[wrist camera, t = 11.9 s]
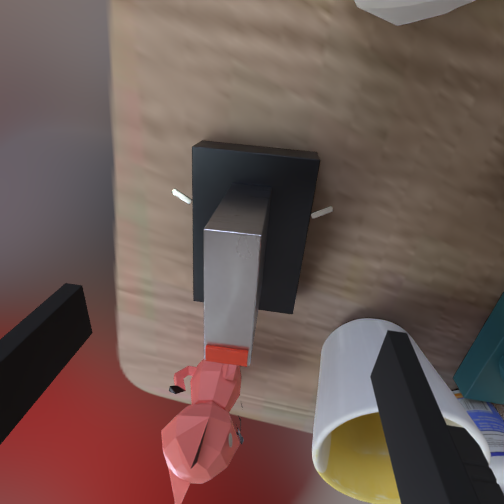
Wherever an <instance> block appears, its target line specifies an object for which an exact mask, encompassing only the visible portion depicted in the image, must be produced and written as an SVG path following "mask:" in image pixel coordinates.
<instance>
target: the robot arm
mask: <svg viewBox="0 0 504 504" xmlns="http://www.w3.org/2000/svg"><path fill="white" fill-rule="evenodd" d="M91 334H92V329H91V324H90V320H89V315H88V311H87V306H86V301H85V297H84V292H83V288H82V286H81V285H75V284H67V283H66V284H64V285H63V286H62V287H61V288H60V289H59V290H57V291H56V292H55V293H54V294H53V295H51V296H50V297H49V298H48V299H47V300H46V301H44V302H43V303H42V304H41V305H40V306H39V307H38V308H36V309H35V310H34V311H33V312H32V313H31V314H29V315H28V316H27V317H26V318H25V319H23V320H22V321H21V322H20V323H19V324H18V325H17V326H15V327H14V328H13V329H12V330H11V331H10V332H8V333H7V334H6V335H5V336H4V337H3V338H1V339H0V444H1V443H2V442H3V441H4V440H5V438H6V437H7V436H8V435H9V434H10V432H11V431H12V430H13V429H14V427H15V426H16V425H17V424H18V423H19V421H20V420H21V419H22V418H23V416H24V415H25V414H26V413H27V412H28V410H29V409H30V408H31V407H32V406H33V404H34V403H35V402H36V401H37V400H38V398H39V397H40V396H41V395H42V393H43V392H44V391H45V390H46V389H47V387H48V386H49V385H50V384H51V382H52V381H53V380H54V379H55V378H56V376H57V375H58V374H59V373H60V371H61V370H62V369H63V368H64V367H65V365H66V364H67V363H68V362H69V361H70V359H71V358H72V357H73V356H74V355H75V353H76V352H77V351H78V350H79V348H80V347H81V346H82V345H83V344H84V342H85V341H86V340H87V339H88V338H89V336H90V335H91ZM370 378H371V382H372V386H373V390H374V394H375V398H376V402H377V407H378V411H379V415H380V419H381V423H382V427H383V431H384V435H385V439H386V444H387V448H388V452H389V456H390V460H391V464H392V468H393V472H394V476H395V480H396V485H397V489H398V493H399V497H400V501H401V504H504V493H503V491H502V489H501V487H500V485H499V484H497V482H496V481H497V479H496V477H495V475H494V473H493V471H492V469H491V468H489V463H488V461H487V459H486V457H485V455H484V453H483V451H482V449H481V447H480V445H479V444H478V443H477V442H476V441H475V439H474V438H473V437H472V436H471V435H470V434H469V432H468V431H467V430H466V429H465V428H462V427H456V426H450V425H447V424H446V422H445V420H444V418H443V415H442V413H441V411H440V408H439V406H438V404H437V401H436V399H435V397H434V394H433V392H432V390H431V387H430V385H429V383H428V381H427V378H426V376H425V374H424V371H423V369H422V367H421V364H420V362H419V360H418V357H417V355H416V353H415V350H414V348H413V346H412V344H411V341H410V339H409V337H408V334H407V333H404V332H397V331H390V330H387V333H386V336H385V338H384V341H383V344H382V346H381V349H380V352H379V354H378V357H377V360H376V362H375V365H374V368H373V370H372V373H371V376H370Z"/></svg>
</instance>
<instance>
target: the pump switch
mask: <svg viewBox="0 0 504 504" xmlns="http://www.w3.org/2000/svg"><path fill="white" fill-rule="evenodd" d="M453 379H454V381H455V383H456V384H457V386H458V388H459V390H460V392H461V394H462V395H463V397H464V398H466V399H472V400H478V401H485V402H491V403H497V404H503V405H504V292H503V294H502V296H501V297H500V299H499V301H498V302H497V304H496V306H495V308H494V309H493V311H492V313H491V314H490V316H489V318H488V319H487V321H486V323H485V324H484V326H483V328H482V329H481V331H480V333H479V335H478V336H477V338H476V340H475V341H474V343H473V345H472V346H471V348H470V350H469V351H468V353H467V355H466V357H465V358H464V360H463V362H462V363H461V365H460V367H459V368H458V370H457V372H456V373H455V375H454V377H453Z"/></svg>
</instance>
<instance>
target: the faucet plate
mask: <svg viewBox="0 0 504 504" xmlns="http://www.w3.org/2000/svg"><path fill="white" fill-rule="evenodd" d="M319 164H320V159H319V156H318V153H317V152H310V151H300V150H290V149H280V148H271V147H261V146H251V145H242V144H232V143H222V142H212V141H201V142H199V143H197V144H196V145H194V146H192V195H193V297H194V301H199V302H204V228H205V226H206V225H207V223H208V222H209V220H210V218H211V217H212V215H213V214H214V212H215V210H216V209H217V207H218V205H219V204H220V202H221V201H222V199H223V197H224V196H225V194H226V193H227V191H228V189H229V188H230V186H231V185H232V183H235V184H245V185H255V186H265V187H272V191H271V201H270V211H269V221H268V231H267V241H266V251H265V261H264V271H263V281H262V290H261V297H260V303H259V310H265V311H272V312H280V313H287V314H293V310H294V305H295V299H296V293H297V288H298V282H299V277H300V271H301V265H302V260H303V254H304V249H305V243H306V237H307V232H308V226H309V220H310V215H311V216H312V219H314V218H316V217H319V216H322V215H324V214H327V213H330V212H332V211H333V209H332V206H329V207H326V208H324V209H321V210H319V211H316V212H313V213H311V209H312V204H313V198H314V192H315V187H316V181H317V176H318V170H319ZM172 193H173V194H174V195H176V196H177V197H179V198H180V199H182V200H183V201H185V202H186V203H188V204H190V203H191V201H192V199H190V198H189V197H187V196H186V195H184V194H183V193H181V192H180V191H178V190H177V189H175V188H174V189H173V191H172Z"/></svg>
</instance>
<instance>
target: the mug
mask: <svg viewBox="0 0 504 504" xmlns="http://www.w3.org/2000/svg"><path fill="white" fill-rule="evenodd" d="M387 330H390V331H397V332H404V333H407V334H408V332H406V331H405V330H404V329H403V328H401V327H400V326H398V325H396V324H394V323H392V322H389V321H385V320H381V319H373V318H362V319H356V320H353V321H350V322H348V323H346V324H344V325H342V326H340V327H338V328H337V329H336V330H335V331H333V332H332V333H331V334H330V335H329V337H328V338H327V339H326V341H325V343H324V345H323V347H322V352H321V362H320V373H319V383H318V393H317V402H316V411H315V420H314V430H313V443H312V459H313V462H314V465H315V468H316V470H317V471H318V473H319V475H320V476H321V477H322V478H323V479H324V480H325V481H326V482H327V483H328V484H329V485H331V486H332V487H333V488H335V489H336V490H338V491H339V492H341V493H343V494H345V495H347V496H350V497H352V498H355V499H358V500H361V501H365V502H368V503H373V504H401V501H400V497H399V493H398V489H397V485H396V480H395V476H394V472H393V468H392V464H391V460H390V456H389V452H388V448H387V444H386V439H385V435H384V431H383V427H382V423H381V419H380V415H379V411H378V407H377V402H376V398H375V394H374V390H373V386H372V382H371V378H370V376H371V373H372V370H373V368H374V365H375V362H376V360H377V357H378V354H379V352H380V349H381V346H382V344H383V341H384V338H385V336H386V333H387ZM408 337H409V339H410V341H411V344H412V346H413V348H414V350H415V353H416V355H417V357H418V360H419V362H420V364H421V367H422V369H423V371H424V374H425V376H426V378H427V381H428V383H429V385H430V387H431V390H432V392H433V394H434V397H435V399H436V401H437V404H438V406H439V408H440V411H441V413H442V415H443V418H444V420H445V422H446V424H447V425H450V426H456V427H462V428H465V429H466V430H467V431H468V432H469V434H470V435H471V436H472V437H473V438H474V439H475V441H476V442H477V443H478V444H479V445H480V447H481V449H482V451H483V453H484V455H485V457H486V459H487V461H488V463H489V465H490V460H491V453H490V448H489V445H488V443H487V440H486V439H485V437H484V435H483V434H482V433H481V431H480V430H479V428H478V427H477V426H476V424H475V423H474V421H473V420H472V419H471V417H470V416H469V414H468V413H467V412H466V410H465V409H464V407H463V406H462V405H461V403H460V402H459V401H458V399H457V398H456V396H455V395H454V394H453V392H452V391H451V390H450V388H449V387H448V386H447V384H446V383H445V382H444V380H443V379H442V378H441V376H440V375H439V374H438V372H437V371H436V370H435V368H434V367H433V366H432V364H431V363H430V362H429V360H428V359H427V358H426V356H425V355H424V353H423V352H422V351H421V349H420V348H419V347H418V345H417V344H416V342H415V341H414V340H413V338H412V337H411V336H410V335H409V334H408Z"/></svg>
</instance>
